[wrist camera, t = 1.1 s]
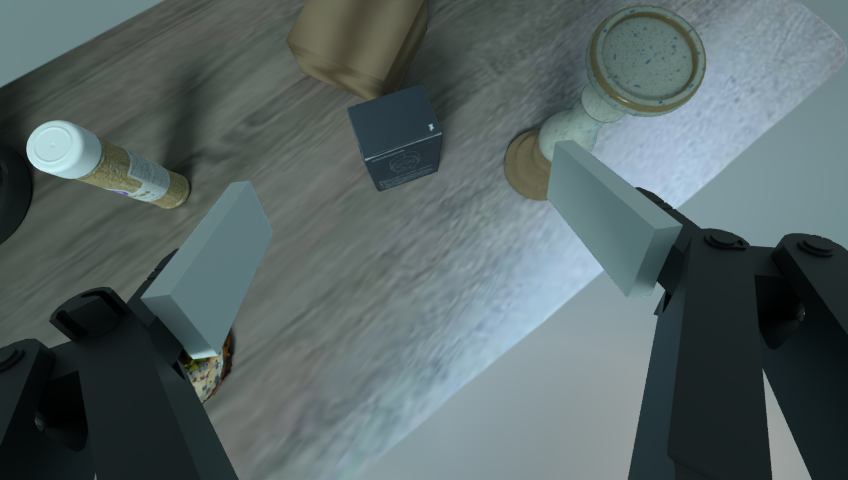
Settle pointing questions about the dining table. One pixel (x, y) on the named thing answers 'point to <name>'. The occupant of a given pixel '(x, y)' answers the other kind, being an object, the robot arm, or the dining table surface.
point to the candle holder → (615, 88)
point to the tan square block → (359, 42)
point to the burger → (207, 370)
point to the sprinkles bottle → (103, 164)
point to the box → (397, 136)
